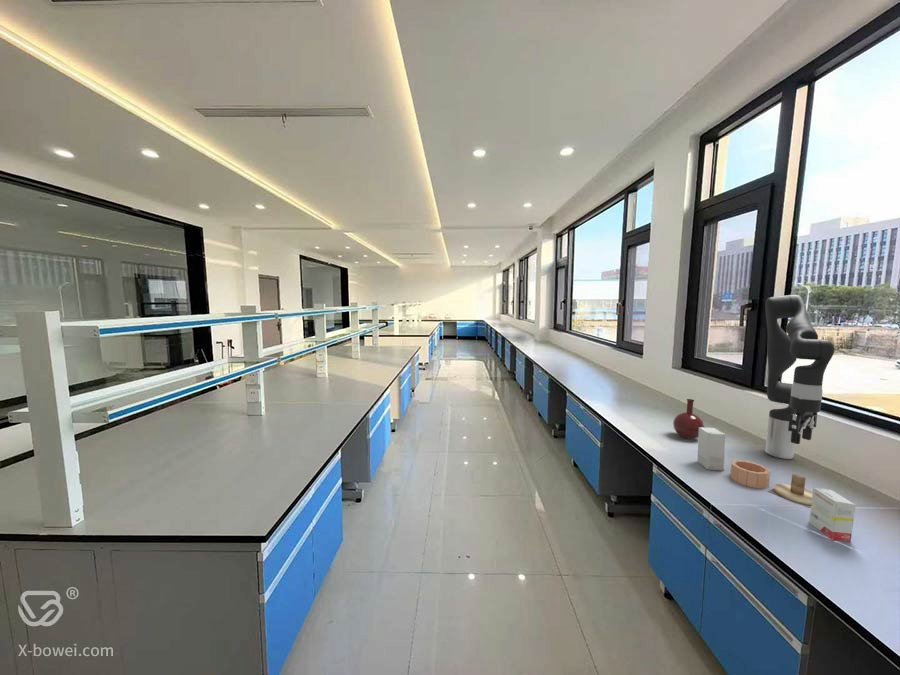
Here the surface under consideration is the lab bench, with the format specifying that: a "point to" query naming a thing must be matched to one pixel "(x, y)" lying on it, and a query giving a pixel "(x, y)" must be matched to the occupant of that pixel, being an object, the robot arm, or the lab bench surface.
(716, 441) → the skincare box
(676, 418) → the red vase
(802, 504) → the mat
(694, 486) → the lab bench surface
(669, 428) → the lab bench surface
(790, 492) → the lid
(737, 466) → the bowl
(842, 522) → the ink box
